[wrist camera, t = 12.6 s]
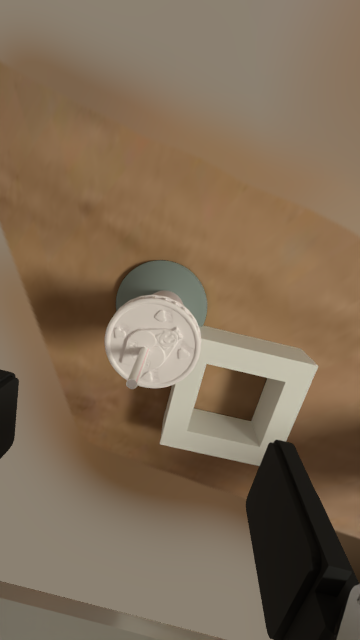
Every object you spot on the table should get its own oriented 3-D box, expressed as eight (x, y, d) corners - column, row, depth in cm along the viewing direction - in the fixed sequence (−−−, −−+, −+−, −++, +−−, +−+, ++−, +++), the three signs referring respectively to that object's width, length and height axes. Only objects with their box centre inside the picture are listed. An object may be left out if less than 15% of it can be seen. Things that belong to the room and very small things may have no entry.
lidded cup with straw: (120, 296, 27) (51, 355, 13) (177, 263, 26) (165, 292, 12) (153, 349, 28) (121, 450, 15) (208, 321, 27) (228, 402, 14)
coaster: (217, 272, 26) (217, 273, 26) (194, 355, 29) (194, 358, 28) (125, 250, 26) (124, 250, 25) (110, 336, 29) (109, 338, 28)
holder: (300, 348, 28) (318, 365, 25) (263, 441, 32) (274, 469, 28) (188, 321, 28) (188, 335, 24) (163, 419, 31) (159, 444, 28)
